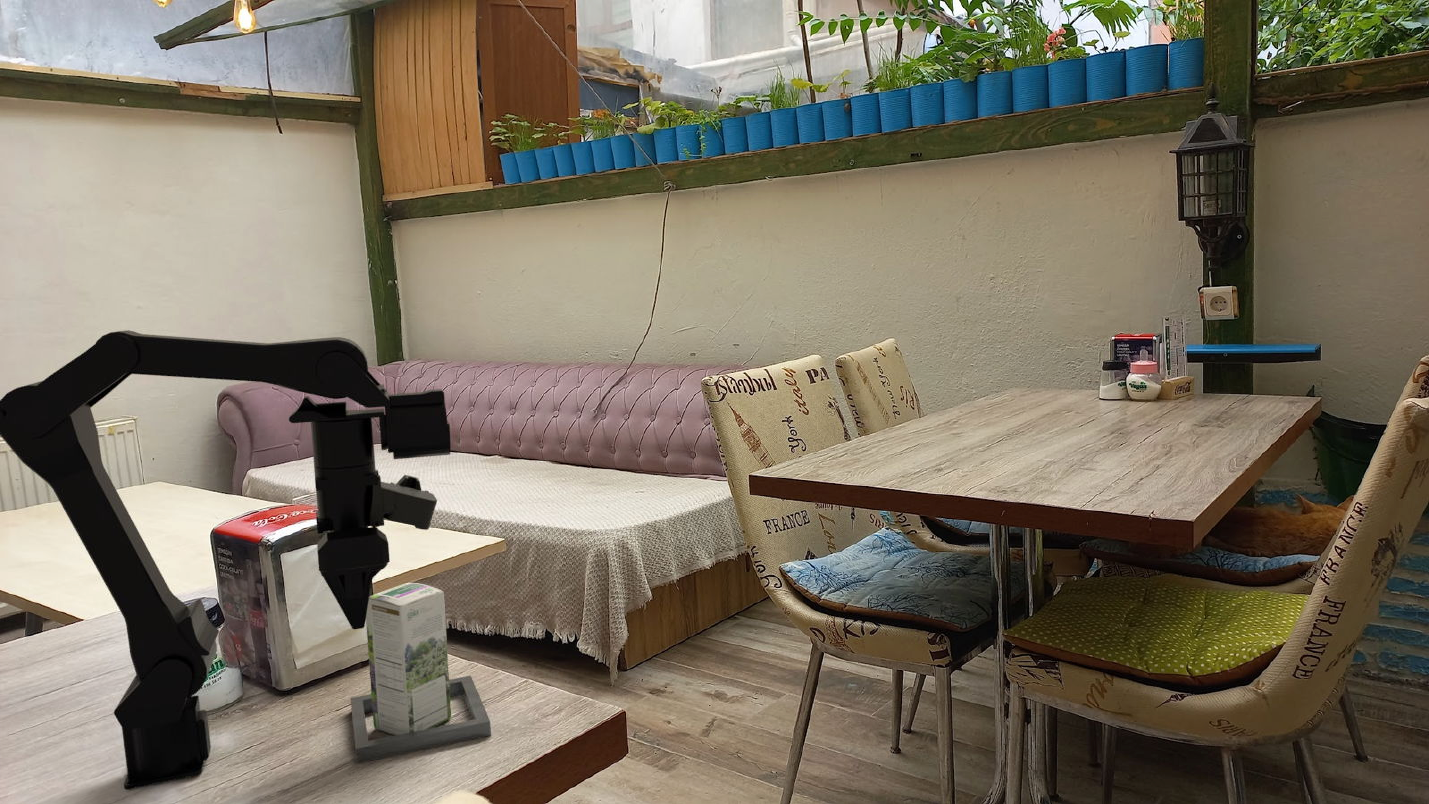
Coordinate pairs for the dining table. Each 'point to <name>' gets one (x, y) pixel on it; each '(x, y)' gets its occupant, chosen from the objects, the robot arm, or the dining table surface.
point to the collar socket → (423, 737)
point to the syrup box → (408, 658)
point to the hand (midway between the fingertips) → (356, 614)
